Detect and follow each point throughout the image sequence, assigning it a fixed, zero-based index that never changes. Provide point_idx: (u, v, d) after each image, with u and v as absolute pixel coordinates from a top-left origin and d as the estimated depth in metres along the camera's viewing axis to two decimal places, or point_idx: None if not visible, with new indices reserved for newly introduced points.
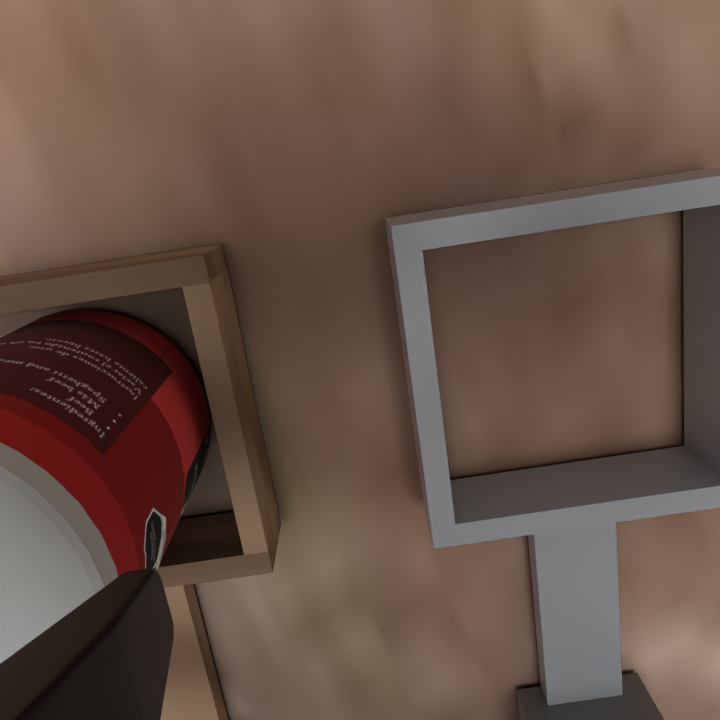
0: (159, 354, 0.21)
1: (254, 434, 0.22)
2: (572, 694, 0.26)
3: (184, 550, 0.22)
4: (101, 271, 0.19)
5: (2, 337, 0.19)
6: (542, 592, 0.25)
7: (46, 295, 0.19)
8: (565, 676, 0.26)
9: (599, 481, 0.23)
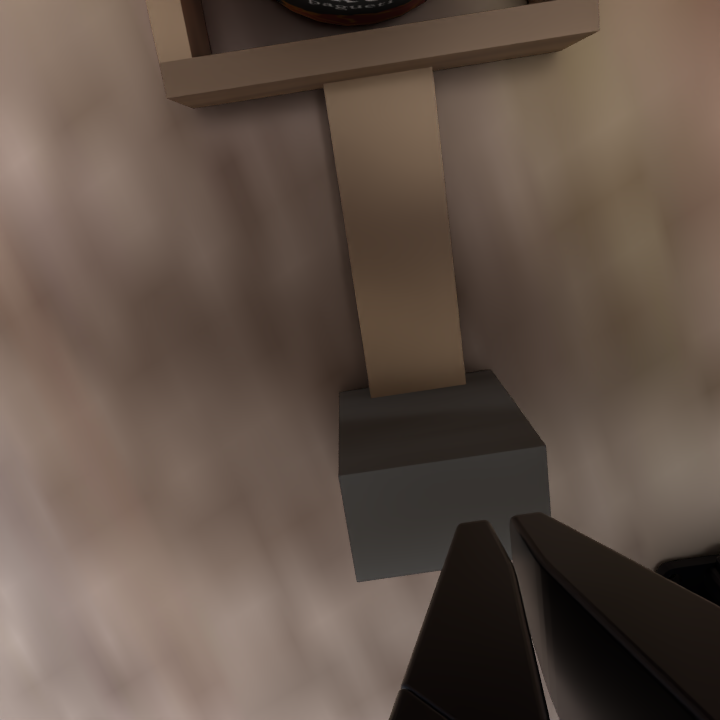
0: None
1: None
2: None
3: None
4: None
5: None
6: None
7: None
8: None
9: None
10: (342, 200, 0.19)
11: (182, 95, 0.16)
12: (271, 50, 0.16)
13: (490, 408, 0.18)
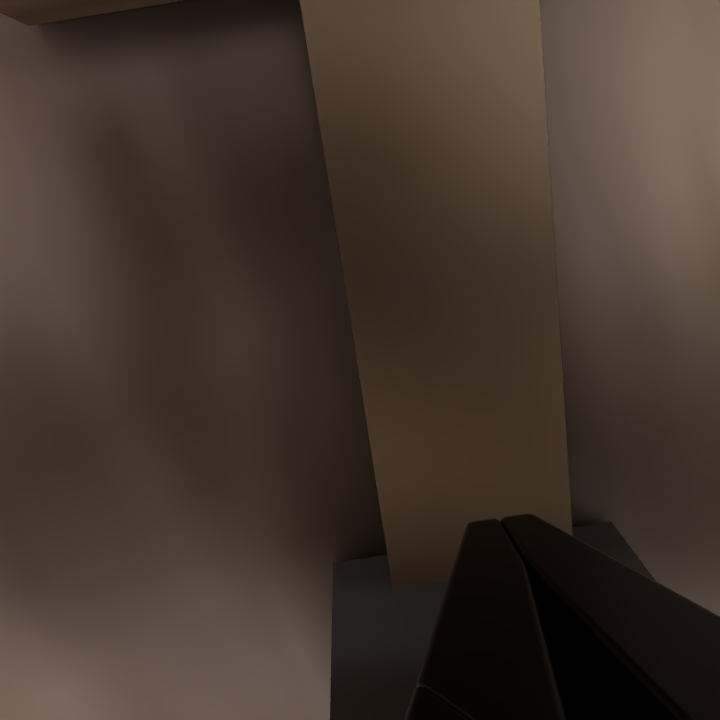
0: None
1: None
2: None
3: None
4: None
5: None
6: None
7: None
8: None
9: None
10: (337, 215, 0.09)
11: None
12: None
13: None
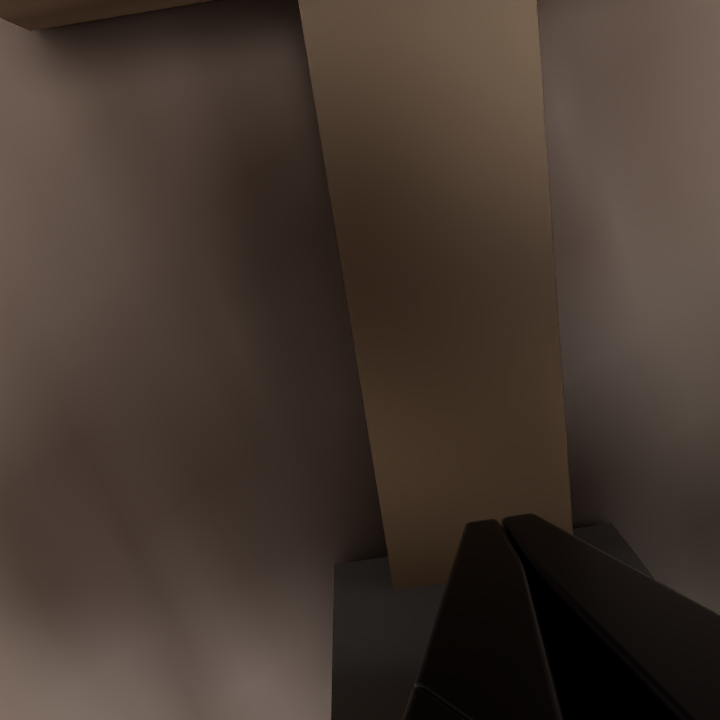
0: None
1: None
2: None
3: None
4: None
5: None
6: None
7: None
8: None
9: None
10: (336, 217, 0.09)
11: None
12: None
13: None
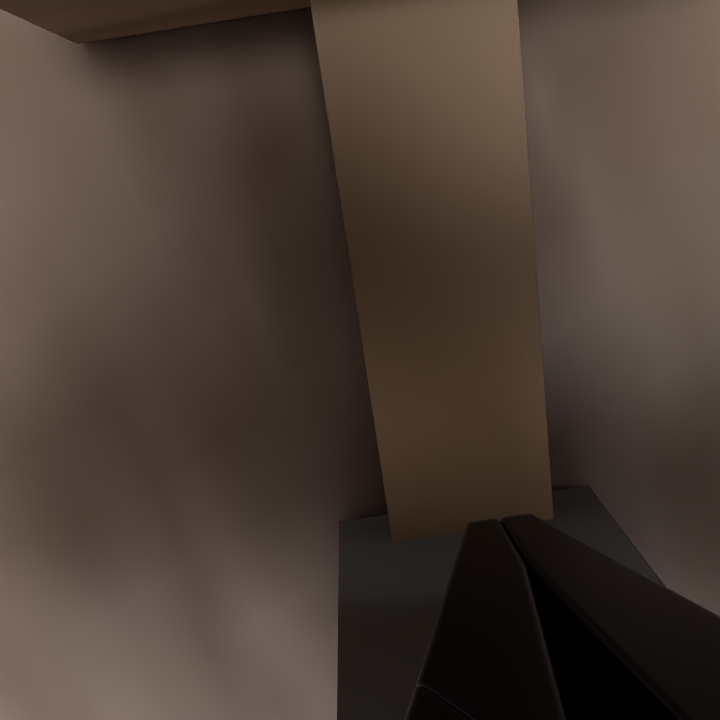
0: None
1: None
2: None
3: None
4: None
5: None
6: None
7: None
8: None
9: None
10: (344, 209, 0.10)
11: None
12: None
13: None
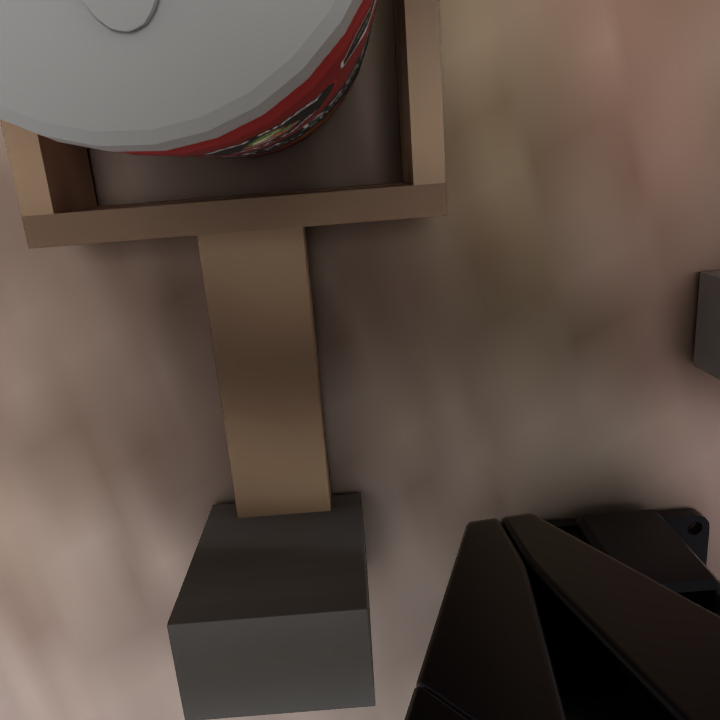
0: None
1: None
2: None
3: None
4: None
5: None
6: None
7: None
8: None
9: None
10: (213, 336, 0.19)
11: (44, 246, 0.17)
12: (131, 212, 0.16)
13: (338, 549, 0.19)
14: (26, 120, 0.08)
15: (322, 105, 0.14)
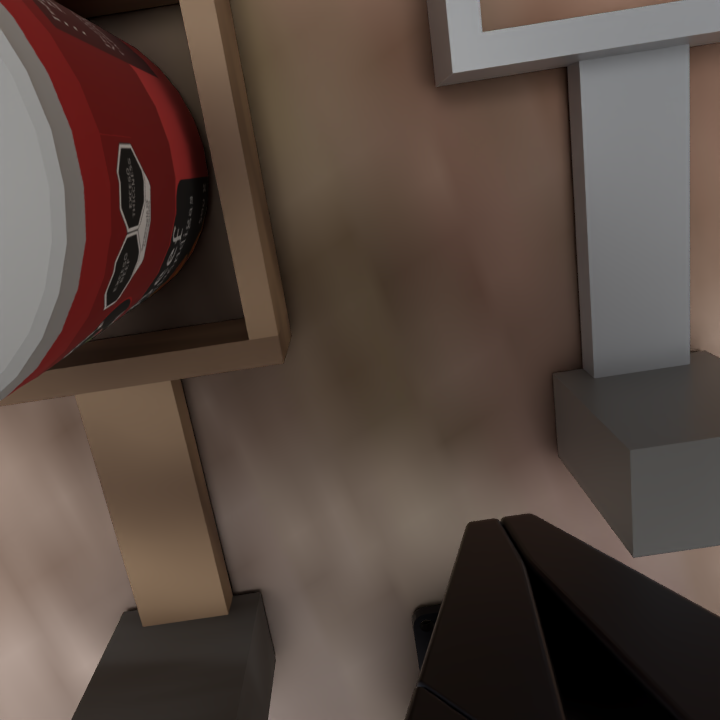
0: (142, 58, 0.17)
1: (261, 202, 0.18)
2: (626, 362, 0.20)
3: (177, 344, 0.19)
4: None
5: None
6: (591, 204, 0.19)
7: None
8: (617, 334, 0.20)
9: None
10: (98, 468, 0.21)
11: None
12: None
13: (225, 660, 0.20)
14: None
15: (132, 302, 0.15)
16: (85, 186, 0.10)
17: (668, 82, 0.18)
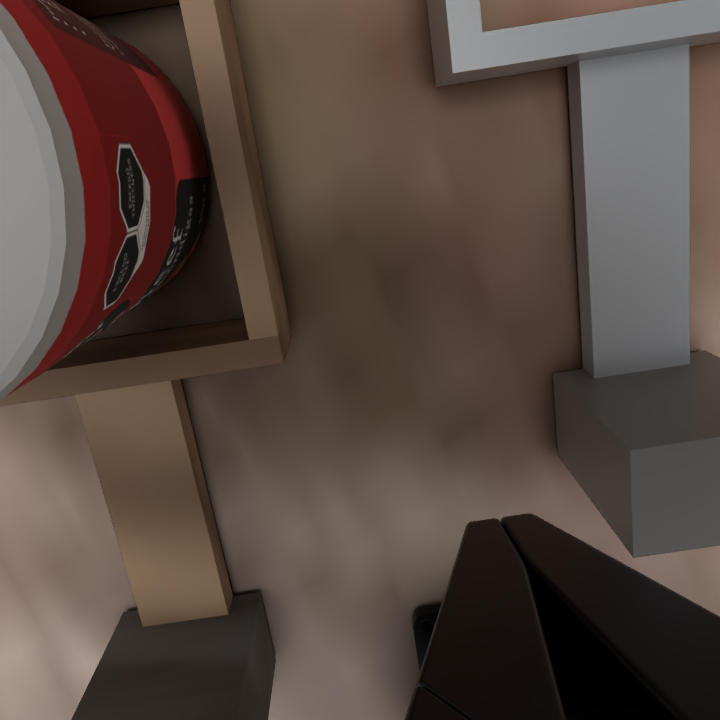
0: (142, 58, 0.17)
1: (261, 202, 0.18)
2: (626, 362, 0.20)
3: (177, 344, 0.19)
4: None
5: None
6: (591, 204, 0.19)
7: None
8: (617, 334, 0.20)
9: None
10: (98, 468, 0.21)
11: None
12: None
13: (225, 660, 0.20)
14: None
15: (132, 302, 0.15)
16: (84, 186, 0.10)
17: (668, 82, 0.18)
